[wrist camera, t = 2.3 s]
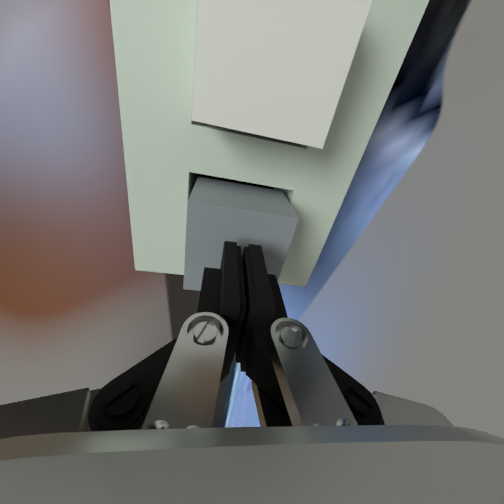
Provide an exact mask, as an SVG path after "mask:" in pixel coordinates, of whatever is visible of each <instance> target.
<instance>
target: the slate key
mask: <svg viewBox="0 0 504 504" xmlns="http://www.w3.org/2000/svg"><path fill="white" fill-rule="evenodd" d="M298 220H299V217H298V216H297V214H296V213H295V211H294V209H293V208H292V206H291V204H290V203H289V201H288V199H287V198H286V196H285V195H284V193H283V191H279V190H273V189H267V188H262V187H256V186H250V185H245V184H239V183H233V182H227V181H222V180H216V179H210V178H205V177H199V176H198V178H197V180H196V183H195V185H194V188H193V190H192V192H191V195H190V197H189V199H188V206H187V226H186V246H185V266H184V286H183V289H188V290H200V291H201V285H202V279H203V272H204V267H207V268H217V269H220V266H221V260H222V253H223V247H224V241H230V242H237V246H241V253H243V248H244V246H245V247H248V245H249V244H254V245H261V247H262V251H263V255H264V260H265V264H266V268H267V273H268V274H273V275H276V278H277V281H278V279H279V276H280V273H281V270H282V267H283V264H284V262H285V259H286V256H287V253H288V250H289V247H290V244H291V241H292V238H293V235H294V232H295V229H296V226H297V223H298Z"/></svg>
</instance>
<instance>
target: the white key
mask: <svg viewBox="0 0 504 504" xmlns="http://www.w3.org/2000/svg"><path fill="white" fill-rule="evenodd" d="M371 3H372V0H198V6H197V26H196V46H195V66H194V86H193V106H192V121H196V122H201V123H206V124H210V125H215V126H219V127H224V128H229V129H233V130H238V131H242V132H247V133H252V134H256V135H261V136H265V137H270V138H275V139H279V140H284V141H288V142H293V143H297V144H302V145H307V146H311V147H316V148H320V149H323V146H324V143H325V140H326V137H327V134H328V131H329V128H330V125H331V122H332V119H333V116H334V113H335V110H336V107H337V104H338V101H339V98H340V95H341V92H342V89H343V86H344V83H345V81H346V78H347V75H348V72H349V69H350V66H351V63H352V60H353V57H354V54H355V51H356V48H357V45H358V42H359V39H360V36H361V33H362V30H363V27H364V24H365V21H366V18H367V15H368V12H369V9H370V6H371Z"/></svg>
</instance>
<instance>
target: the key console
mask: <svg viewBox="0 0 504 504" xmlns="http://www.w3.org/2000/svg"><path fill="white" fill-rule="evenodd" d="M428 2H429V0H372V3H371V6H370V9H369V12H368V15H367V18H366V21H365V24H364V27H363V30H362V33H361V36H360V39H359V42H358V45H357V48H356V51H355V54H354V57H353V60H352V63H351V66H350V69H349V72H348V75H347V78H346V81H345V83H344V86H343V89H342V92H341V95H340V98H339V101H338V104H337V107H336V110H335V113H334V116H333V119H332V122H331V125H330V128H329V131H328V134H327V137H326V140H325V143H324V146H323V149H320V148H316V147H311V146H307V145H302V144H297V143H293V142H288V141H284V140H279V139H275V138H270V137H265V136H261V135H256V134H252V133H247V132H242V131H238V130H233V129H229V128H224V127H219V126H215V125H210V124H206V123H201V122H196V121H192V106H193V86H194V66H195V46H196V26H197V6H198V0H110V9H111V20H112V30H113V39H114V50H115V62H116V72H117V81H118V82H117V83H118V93H119V104H120V113H121V114H120V115H121V124H122V136H123V146H124V156H125V167H126V178H127V188H128V199H129V209H130V220H131V230H132V241H133V252H134V262H135V270H140V271H152V272H161V273H171V274H181V275H184V266H185V246H186V226H187V206H188V199H189V197H190V195H191V192H192V190H193V188H194V185H195V183H196V180H197V173H198V174H204V175H209V176H215V177H220V178H226V179H232V180H237V181H243V182H249V183H254V184H260V185H265V186H271V187H275V190H279V191H283V193H284V195H285V196H286V198H287V199H288V201H289V203H290V204H291V206H292V208H293V209H294V211H295V213H296V214H297V216H298V217H299V220H298V223H297V226H296V229H295V232H294V235H293V238H292V241H291V244H290V247H289V250H288V253H287V256H286V259H285V262H284V264H283V267H282V270H281V273H280V276H279V279H278V284H283V285H293V286H303V287H306V286H307V283H308V281H309V279H310V276H311V274H312V272H313V270H314V267H315V265H316V263H317V260H318V258H319V256H320V253H321V251H322V249H323V246H324V244H325V242H326V239H327V237H328V235H329V232H330V230H331V228H332V225H333V223H334V221H335V218H336V216H337V214H338V211H339V209H340V207H341V204H342V202H343V200H344V197H345V195H346V193H347V191H348V188H349V186H350V184H351V181H352V179H353V177H354V174H355V172H356V170H357V167H358V165H359V163H360V160H361V158H362V156H363V153H364V151H365V149H366V146H367V144H368V142H369V139H370V137H371V135H372V132H373V130H374V128H375V125H376V123H377V121H378V119H379V116H380V114H381V112H382V109H383V107H384V105H385V102H386V100H387V98H388V95H389V93H390V91H391V88H392V86H393V84H394V81H395V79H396V77H397V74H398V72H399V70H400V67H401V65H402V63H403V60H404V58H405V56H406V53H407V51H408V49H409V46H410V44H411V42H412V40H413V37H414V35H415V33H416V30H417V28H418V26H419V23H420V21H421V19H422V16H423V14H424V12H425V9H426V7H427V5H428Z"/></svg>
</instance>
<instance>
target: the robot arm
mask: <svg viewBox="0 0 504 504" xmlns="http://www.w3.org/2000/svg"><path fill="white" fill-rule="evenodd" d="M235 353H236V362H237V363H241V371H244V372H246V375H247V376H248V377H249V378H250V379H251V380H252V390H253V394H254V398H255V403H256V407H257V412H258V416H259V421H260V425H261V427H235V428H211V427H212V422H213V416H214V411H215V405H216V400H217V394H218V389H219V383H220V382H221V381H222V380H223V379H224V378H225V377H226V376H227V375H228V374H229V370H230V366H231V362H232V361H233V358H234V354H235ZM0 504H504V439H503V438H501V437H498V436H495V435H492V434H489V433H486V432H482V431H479V430H475V429H469V428H463V427H455V426H453V425H452V424H451V422H450V421H449V420H448V419H447V418H446V417H445V416H444V415H443V414H442V413H440V412H439V411H438V410H436V409H435V408H433V407H431V406H428V405H425V404H422V403H418V402H414V401H410V400H406V399H403V398H399V397H396V396H392V395H388V394H384V393H381V392H377V391H374V392H373V393H370V392H369V391H368V390H367V389H366V388H365V387H364V386H363V385H361V384H360V383H359V382H357V381H356V380H355V379H353V378H352V377H351V376H349V375H348V374H347V373H346V372H344V371H343V370H342V369H340V368H339V367H338V366H336V365H335V364H334V363H332V362H331V361H329V360H328V359H327V358H326V357H324V356H323V355H322V354H321V353H320V351H319V349H318V347H317V345H316V343H315V341H314V339H313V337H312V335H311V333H310V332H309V330H308V329H307V328H306V327H305V326H304V325H303V324H302V323H300V322H299V321H297V320H295V319H291V318H288V317H287V313H286V310H285V306H284V303H283V299H282V295H281V292H280V288H279V285H278V281H277V278H276V275H273V274H268V273H267V268H266V264H265V260H264V255H263V251H262V247H261V245H254V244H249V245H248V247H245V246H244V248H243V253H241V246H237V242H230V241H224V247H223V253H222V260H221V266H220V269H217V268H207V267H204V272H203V279H202V285H201V292H200V298H199V305H198V311H197V313H196V314H194V315H192V316H190V317H189V318H188V319H187V320H186V321H185V323H184V324H183V326H182V329H181V331H180V334H179V336H178V337H177V338H176V339H174V340H173V341H171V342H170V343H168V344H167V345H165V346H164V347H162V348H161V349H159V350H157V351H156V352H155V353H153V354H151V355H150V356H148V357H147V358H145V359H144V360H142V361H141V362H139V363H138V364H136V365H135V366H133V367H132V368H130V369H129V370H127V371H126V372H124V373H123V374H121V375H119V376H118V377H116V378H115V379H113V380H112V381H110V382H109V383H108V384H107V385H105V386H104V387H103V388H101V389H96V390H91V391H90V390H89V388H84V389H79V390H74V391H69V392H63V393H59V394H53V395H49V396H44V397H39V398H34V399H28V400H23V401H18V402H13V403H8V404H4V405H0Z"/></svg>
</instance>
